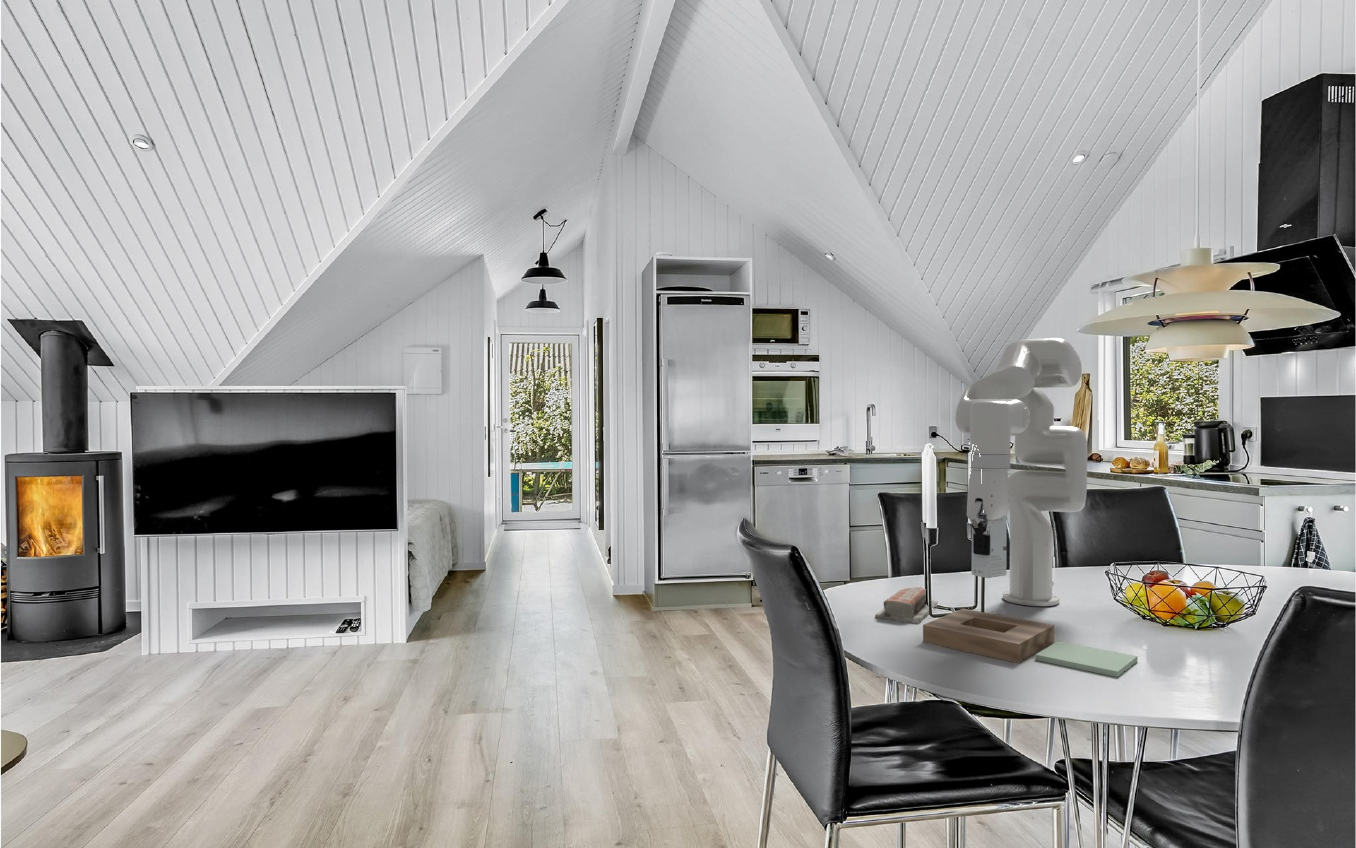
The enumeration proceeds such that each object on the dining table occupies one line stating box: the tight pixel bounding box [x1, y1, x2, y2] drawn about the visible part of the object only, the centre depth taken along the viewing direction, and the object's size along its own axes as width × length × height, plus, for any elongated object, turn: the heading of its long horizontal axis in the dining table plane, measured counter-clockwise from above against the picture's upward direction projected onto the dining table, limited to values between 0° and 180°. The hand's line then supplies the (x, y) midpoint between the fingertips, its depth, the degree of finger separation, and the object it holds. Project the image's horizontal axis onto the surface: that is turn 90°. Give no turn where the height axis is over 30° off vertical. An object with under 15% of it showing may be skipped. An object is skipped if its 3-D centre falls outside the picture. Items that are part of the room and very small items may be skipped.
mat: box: [1034, 640, 1139, 678], centre depth 150 cm, size 12×14×1 cm
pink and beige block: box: [874, 587, 939, 624], centre depth 186 cm, size 18×5×10 cm
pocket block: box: [922, 608, 1055, 664], centre depth 162 cm, size 18×19×4 cm
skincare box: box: [971, 515, 1008, 579], centre depth 162 cm, size 6×4×12 cm
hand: (989, 551), depth 162 cm, fingers closed on skincare box, 6 cm apart
